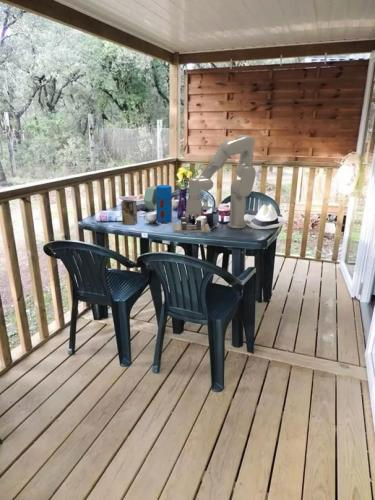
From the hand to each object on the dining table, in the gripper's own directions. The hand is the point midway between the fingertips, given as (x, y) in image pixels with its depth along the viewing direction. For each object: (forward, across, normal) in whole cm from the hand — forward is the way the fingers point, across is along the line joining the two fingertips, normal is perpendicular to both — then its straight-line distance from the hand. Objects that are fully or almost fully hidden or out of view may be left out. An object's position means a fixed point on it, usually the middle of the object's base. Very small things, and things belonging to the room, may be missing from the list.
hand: (193, 224), depth 236 cm
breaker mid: (+1, -4, 0) cm, 4 cm away
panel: (+3, +1, 0) cm, 3 cm away
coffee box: (+4, +43, -14) cm, 46 cm away
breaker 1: (+1, +6, -6) cm, 9 cm away
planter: (+4, +27, -57) cm, 63 cm away
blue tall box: (+4, +19, -20) cm, 28 cm away
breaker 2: (+1, +6, +6) cm, 9 cm away
